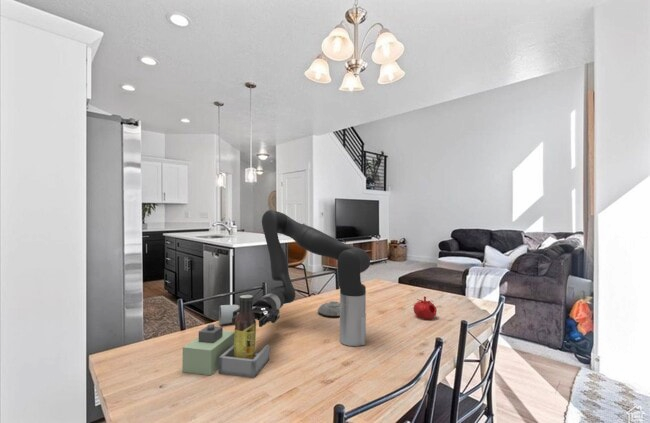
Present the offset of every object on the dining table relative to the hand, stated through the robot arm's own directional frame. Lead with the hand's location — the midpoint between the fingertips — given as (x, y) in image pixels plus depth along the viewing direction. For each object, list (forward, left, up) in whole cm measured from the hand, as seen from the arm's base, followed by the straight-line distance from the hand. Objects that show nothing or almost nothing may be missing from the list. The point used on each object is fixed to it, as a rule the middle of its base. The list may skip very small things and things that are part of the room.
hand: (246, 322), depth 91 cm
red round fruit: (-58, -58, -13) cm, 83 cm away
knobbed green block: (+5, 0, -13) cm, 14 cm away
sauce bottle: (+1, 0, -12) cm, 12 cm away
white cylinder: (+24, -33, -13) cm, 43 cm away
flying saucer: (-17, -55, -13) cm, 59 cm away
